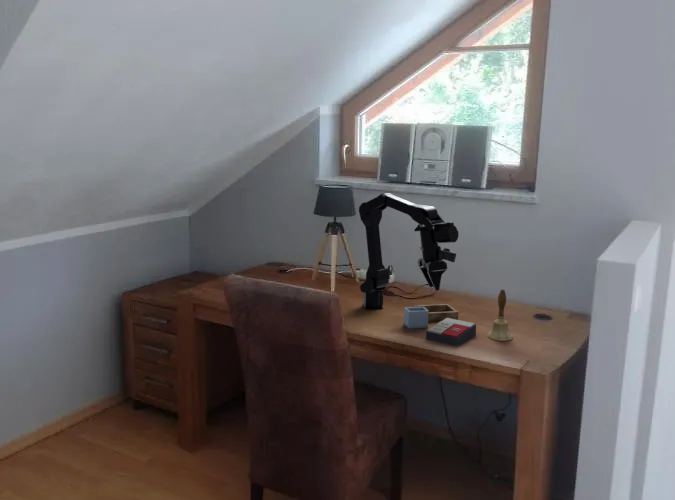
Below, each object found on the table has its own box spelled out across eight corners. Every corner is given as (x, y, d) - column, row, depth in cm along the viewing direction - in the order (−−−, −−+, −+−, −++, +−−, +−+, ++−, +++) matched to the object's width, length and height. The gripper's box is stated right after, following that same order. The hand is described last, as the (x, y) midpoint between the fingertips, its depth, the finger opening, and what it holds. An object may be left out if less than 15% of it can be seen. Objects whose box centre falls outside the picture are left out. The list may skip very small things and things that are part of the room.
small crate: (408, 328, 224) (408, 311, 223) (403, 324, 229) (404, 307, 228) (427, 327, 226) (428, 310, 224) (423, 323, 230) (423, 306, 229)
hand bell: (482, 337, 218) (485, 290, 214) (494, 331, 224) (498, 285, 220) (505, 343, 212) (508, 295, 209) (517, 337, 218) (521, 290, 215)
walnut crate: (425, 321, 232) (426, 313, 232) (416, 313, 242) (416, 305, 241) (457, 320, 235) (458, 311, 234) (447, 311, 244) (448, 303, 244)
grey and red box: (425, 329, 214) (446, 315, 226) (425, 342, 215) (445, 327, 227) (457, 336, 208) (476, 322, 220) (456, 349, 209) (476, 334, 221)
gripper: (459, 242, 217) (464, 289, 219) (446, 239, 236) (450, 282, 237) (426, 246, 217) (431, 293, 218) (415, 243, 235) (420, 286, 236)
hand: (434, 288), depth 227 cm, fingers open, 9 cm apart
